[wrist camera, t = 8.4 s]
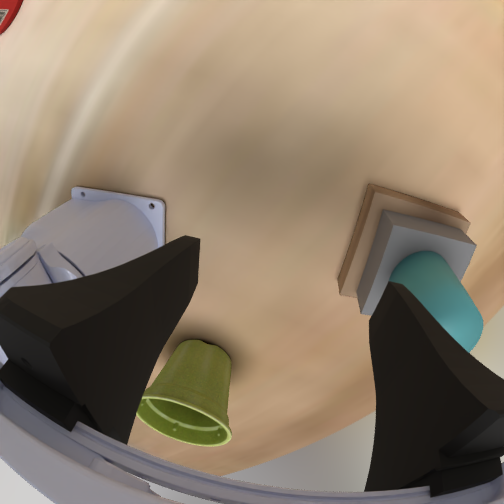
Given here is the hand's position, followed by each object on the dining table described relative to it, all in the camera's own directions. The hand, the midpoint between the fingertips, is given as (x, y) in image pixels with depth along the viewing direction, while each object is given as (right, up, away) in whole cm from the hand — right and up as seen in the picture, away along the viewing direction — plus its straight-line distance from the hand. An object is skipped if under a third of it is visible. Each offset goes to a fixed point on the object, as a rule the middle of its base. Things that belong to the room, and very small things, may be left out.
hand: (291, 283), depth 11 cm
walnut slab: (+10, +2, +10) cm, 14 cm away
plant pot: (-6, -10, +19) cm, 23 cm away
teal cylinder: (+9, -1, +6) cm, 11 cm away
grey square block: (+10, +1, +8) cm, 12 cm away
